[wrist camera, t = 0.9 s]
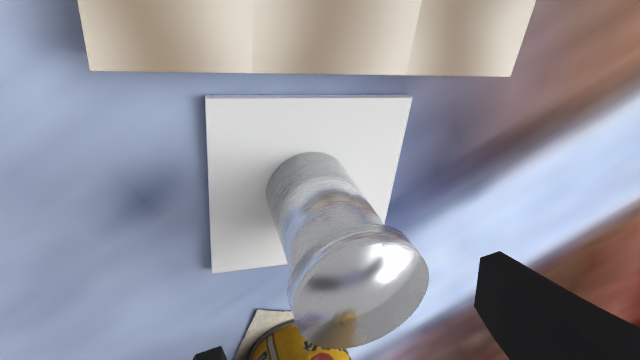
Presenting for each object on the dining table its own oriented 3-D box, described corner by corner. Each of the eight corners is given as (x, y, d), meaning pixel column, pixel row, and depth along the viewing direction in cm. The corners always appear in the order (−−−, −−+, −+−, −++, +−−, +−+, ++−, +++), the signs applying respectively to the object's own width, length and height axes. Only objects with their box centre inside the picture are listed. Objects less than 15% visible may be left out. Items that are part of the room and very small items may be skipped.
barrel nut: (362, 141, 19) (443, 235, 13) (348, 225, 21) (412, 335, 16) (258, 145, 18) (300, 252, 12) (255, 235, 20) (289, 359, 14)
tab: (408, 94, 19) (412, 97, 19) (375, 247, 23) (377, 252, 23) (204, 95, 16) (205, 98, 16) (211, 268, 21) (211, 273, 20)
